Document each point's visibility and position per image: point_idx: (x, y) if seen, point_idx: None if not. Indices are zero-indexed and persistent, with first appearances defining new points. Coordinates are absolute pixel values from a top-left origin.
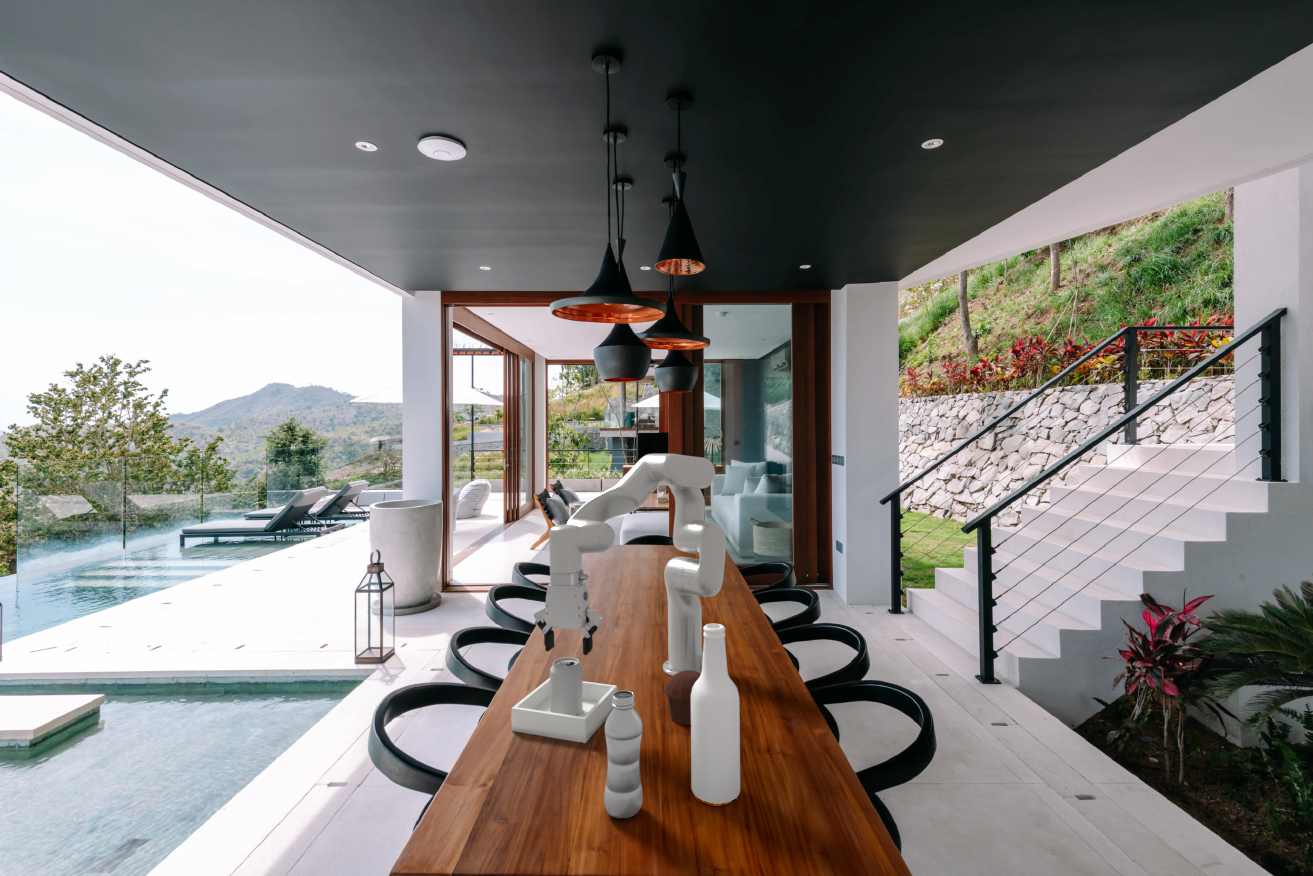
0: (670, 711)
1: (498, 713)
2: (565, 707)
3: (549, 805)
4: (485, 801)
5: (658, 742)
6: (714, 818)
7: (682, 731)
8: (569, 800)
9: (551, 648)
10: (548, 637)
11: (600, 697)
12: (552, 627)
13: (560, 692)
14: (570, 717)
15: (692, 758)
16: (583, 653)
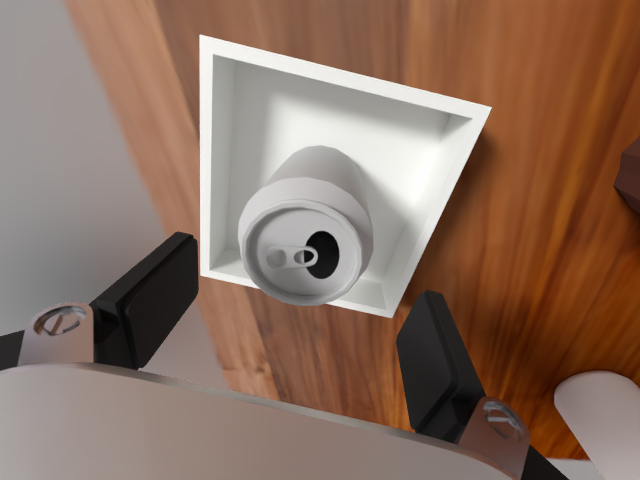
0: (633, 172)
1: (146, 172)
2: (326, 240)
3: (357, 399)
4: (278, 392)
5: (540, 278)
6: (562, 420)
7: (618, 236)
8: (380, 393)
9: (196, 269)
10: (151, 353)
11: (413, 104)
12: (97, 357)
13: (307, 261)
14: (355, 309)
15: (590, 455)
16: (398, 345)
